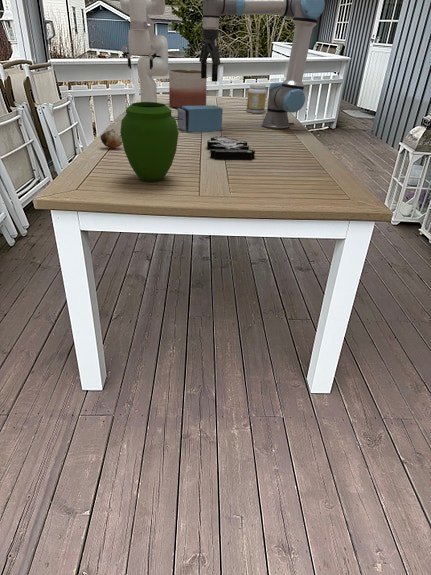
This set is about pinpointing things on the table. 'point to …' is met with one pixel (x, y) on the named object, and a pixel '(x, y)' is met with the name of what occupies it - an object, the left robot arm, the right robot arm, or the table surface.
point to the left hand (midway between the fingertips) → (140, 68)
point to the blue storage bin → (204, 118)
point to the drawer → (182, 118)
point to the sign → (229, 149)
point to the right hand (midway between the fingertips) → (208, 79)
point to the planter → (187, 88)
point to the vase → (149, 139)
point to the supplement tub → (256, 98)
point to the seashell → (111, 139)
